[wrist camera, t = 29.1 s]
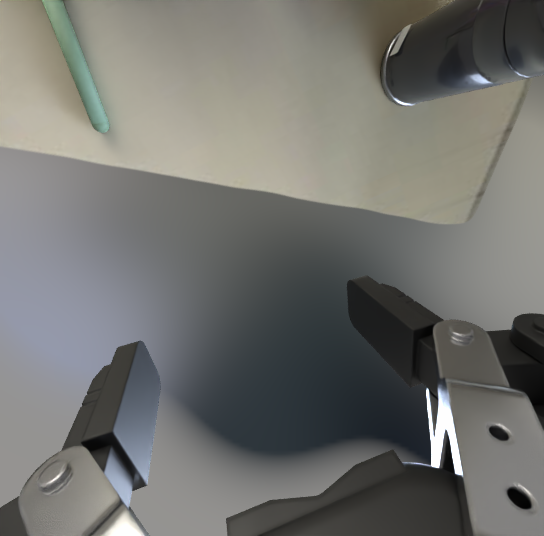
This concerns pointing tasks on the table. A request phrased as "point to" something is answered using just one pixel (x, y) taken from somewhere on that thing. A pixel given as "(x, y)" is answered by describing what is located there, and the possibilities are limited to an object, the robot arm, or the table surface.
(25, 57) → the table surface
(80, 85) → the green spatula
